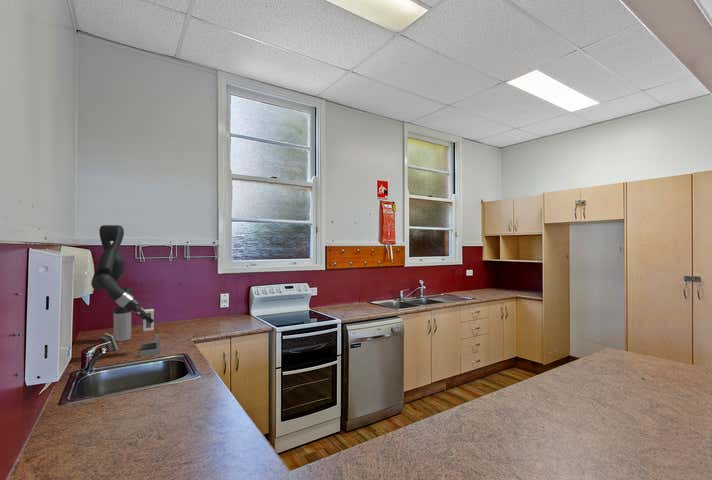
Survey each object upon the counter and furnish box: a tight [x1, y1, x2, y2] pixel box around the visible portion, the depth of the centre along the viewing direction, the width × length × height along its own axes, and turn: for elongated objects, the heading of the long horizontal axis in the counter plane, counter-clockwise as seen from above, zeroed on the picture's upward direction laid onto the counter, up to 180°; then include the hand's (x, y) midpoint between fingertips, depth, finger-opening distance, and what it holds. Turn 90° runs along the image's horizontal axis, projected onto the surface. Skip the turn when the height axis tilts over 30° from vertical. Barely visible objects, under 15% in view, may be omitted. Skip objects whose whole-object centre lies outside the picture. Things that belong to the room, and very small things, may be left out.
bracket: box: [139, 332, 161, 358], centre depth 196 cm, size 14×9×8 cm, turn 31°
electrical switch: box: [99, 333, 119, 352], centre depth 197 cm, size 9×5×9 cm, turn 57°
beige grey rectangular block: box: [142, 308, 155, 332], centre depth 195 cm, size 5×5×11 cm
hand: (152, 320), depth 196 cm, fingers closed on beige grey rectangular block, 5 cm apart
